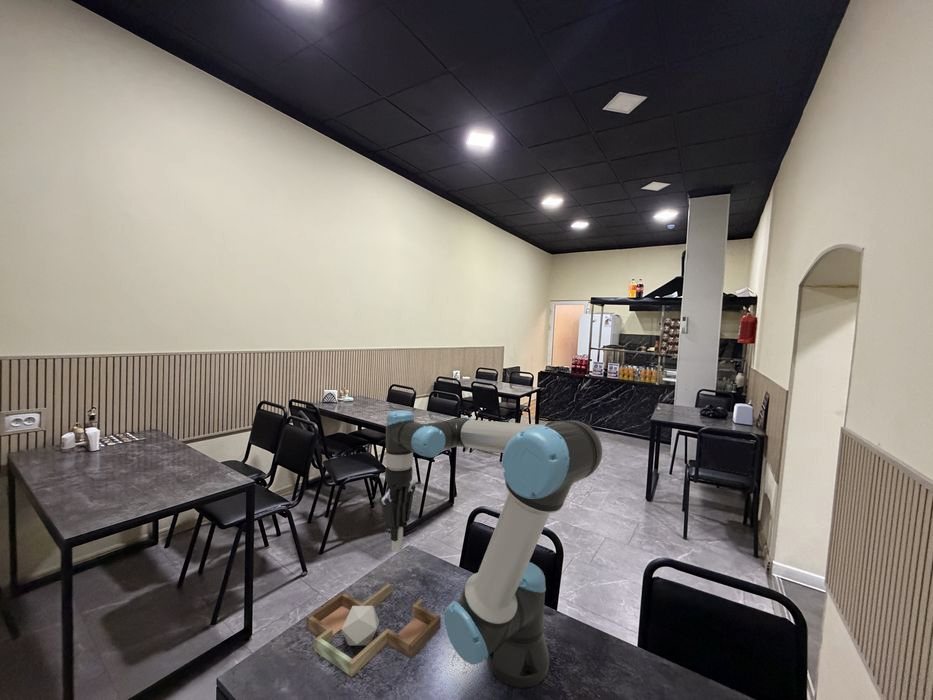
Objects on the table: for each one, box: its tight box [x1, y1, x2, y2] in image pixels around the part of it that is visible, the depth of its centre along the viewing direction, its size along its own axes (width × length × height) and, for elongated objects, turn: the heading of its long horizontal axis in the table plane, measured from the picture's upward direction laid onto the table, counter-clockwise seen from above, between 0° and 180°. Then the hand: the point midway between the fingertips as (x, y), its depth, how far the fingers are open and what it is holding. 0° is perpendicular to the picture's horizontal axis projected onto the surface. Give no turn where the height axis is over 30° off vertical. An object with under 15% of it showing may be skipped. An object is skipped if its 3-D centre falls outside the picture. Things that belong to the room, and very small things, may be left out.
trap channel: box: [305, 583, 442, 678], centre depth 101 cm, size 29×26×3 cm
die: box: [341, 606, 380, 647], centre depth 97 cm, size 8×9×10 cm
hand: (396, 550), depth 108 cm, fingers closed
